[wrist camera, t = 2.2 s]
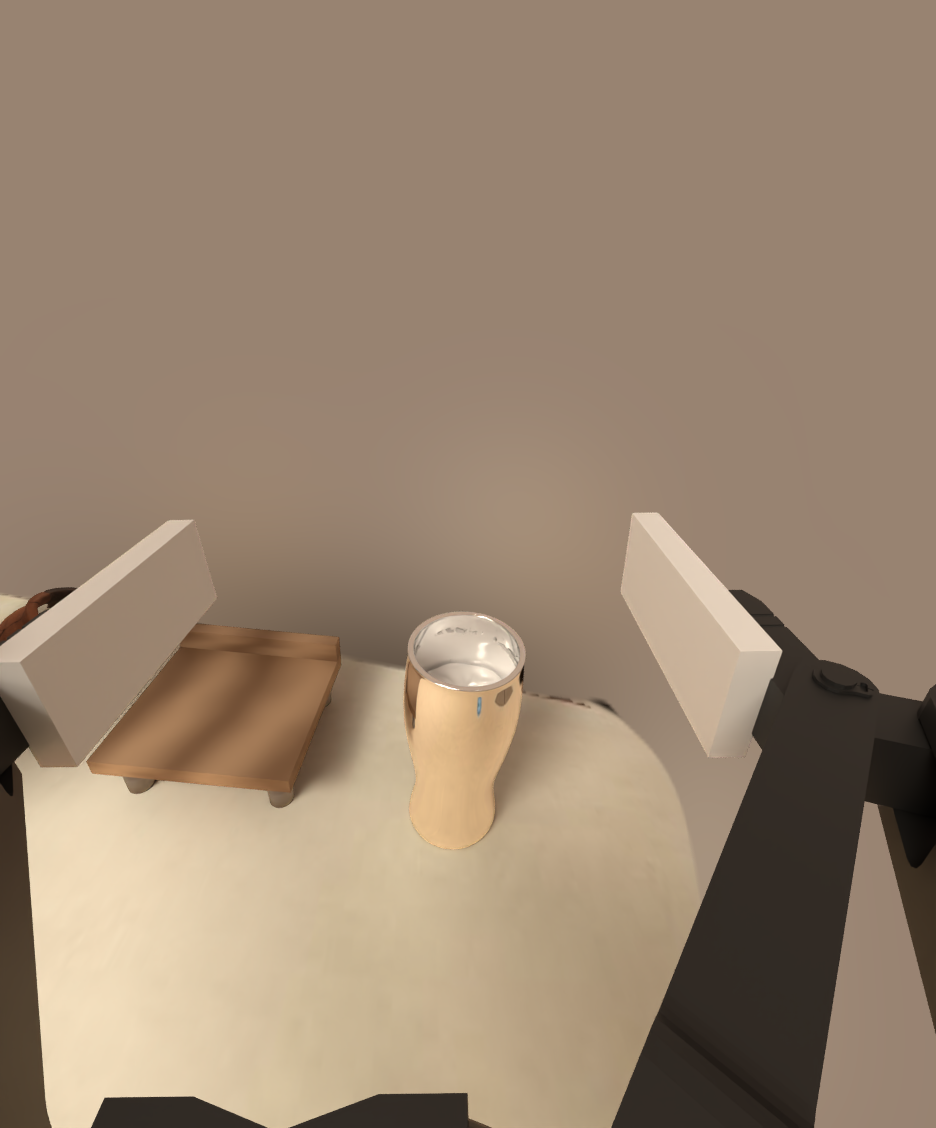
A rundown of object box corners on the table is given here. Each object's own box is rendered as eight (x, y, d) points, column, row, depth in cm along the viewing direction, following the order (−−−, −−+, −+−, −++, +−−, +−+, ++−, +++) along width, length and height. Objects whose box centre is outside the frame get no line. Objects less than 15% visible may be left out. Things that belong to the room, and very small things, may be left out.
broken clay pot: (42, 637, 48) (69, 567, 46) (134, 685, 49) (165, 619, 47) (-99, 707, 36) (-71, 619, 34) (25, 768, 37) (60, 686, 35)
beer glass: (513, 785, 37) (543, 629, 29) (480, 875, 32) (507, 712, 24) (428, 751, 39) (436, 596, 31) (384, 831, 34) (379, 667, 26)
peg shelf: (106, 800, 34) (76, 743, 31) (197, 675, 44) (182, 622, 41) (295, 819, 34) (284, 763, 31) (343, 689, 44) (339, 637, 41)
